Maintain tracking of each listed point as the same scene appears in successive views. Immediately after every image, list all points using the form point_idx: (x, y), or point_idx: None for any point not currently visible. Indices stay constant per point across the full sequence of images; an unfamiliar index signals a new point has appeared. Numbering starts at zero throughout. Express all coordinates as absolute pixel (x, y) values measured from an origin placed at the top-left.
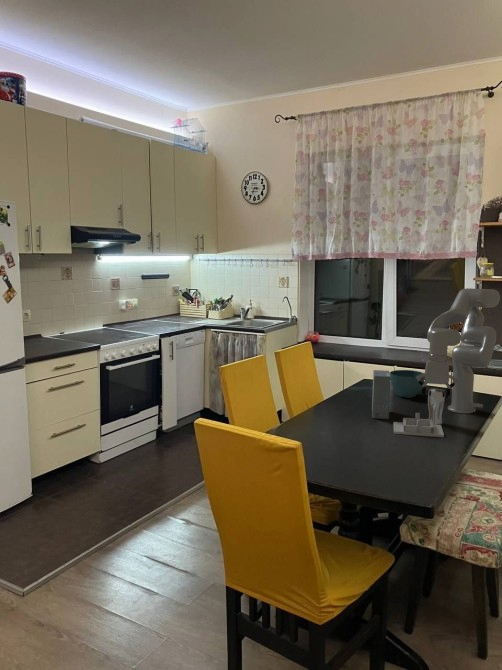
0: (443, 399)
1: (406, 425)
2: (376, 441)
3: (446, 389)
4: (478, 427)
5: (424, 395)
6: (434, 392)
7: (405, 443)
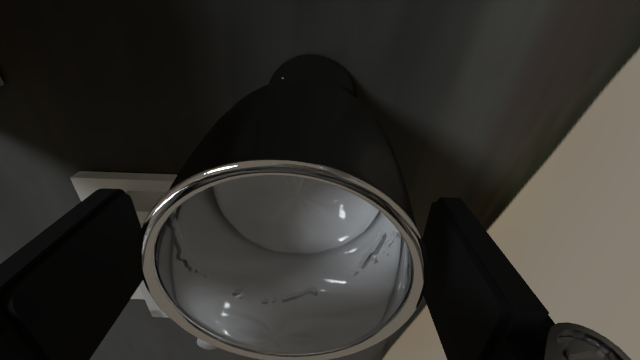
0: (376, 245)
1: (163, 314)
2: (108, 351)
3: (475, 315)
4: (561, 141)
5: (139, 273)
6: (251, 346)
7: (198, 353)
